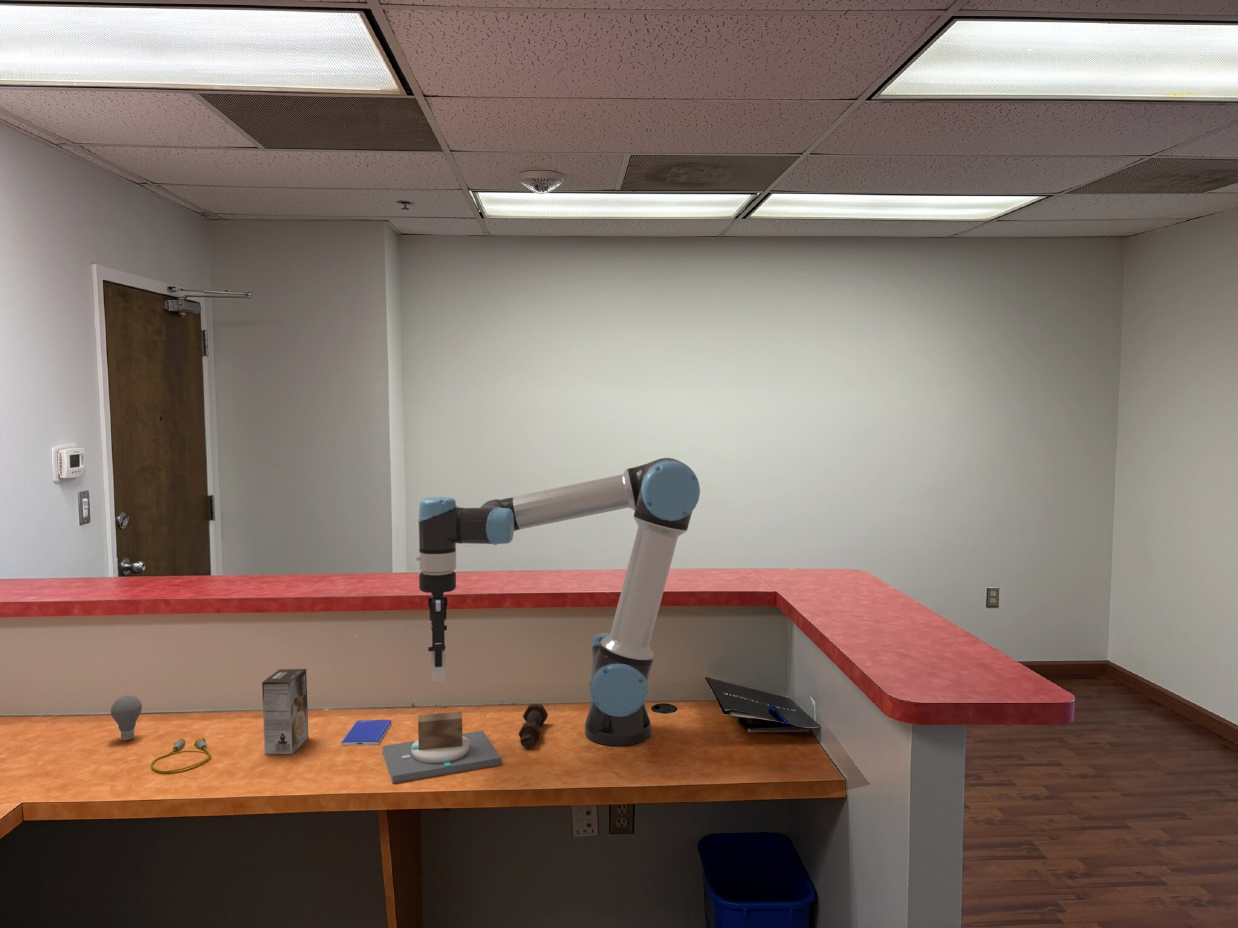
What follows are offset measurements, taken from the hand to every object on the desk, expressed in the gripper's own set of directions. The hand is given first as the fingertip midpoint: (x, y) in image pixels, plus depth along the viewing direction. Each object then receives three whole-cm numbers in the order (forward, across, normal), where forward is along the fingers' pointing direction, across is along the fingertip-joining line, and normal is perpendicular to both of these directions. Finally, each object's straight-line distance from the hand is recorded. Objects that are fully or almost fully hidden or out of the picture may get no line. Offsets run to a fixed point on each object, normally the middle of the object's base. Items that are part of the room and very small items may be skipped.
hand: (438, 671), depth 172 cm
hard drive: (+20, -17, -16) cm, 31 cm away
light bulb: (+20, -26, -68) cm, 76 cm away
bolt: (+19, -8, +21) cm, 29 cm away
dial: (+17, 0, 0) cm, 17 cm away
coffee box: (+20, -14, -33) cm, 41 cm away
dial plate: (+19, 0, 0) cm, 19 cm away
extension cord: (+20, -13, -53) cm, 58 cm away
